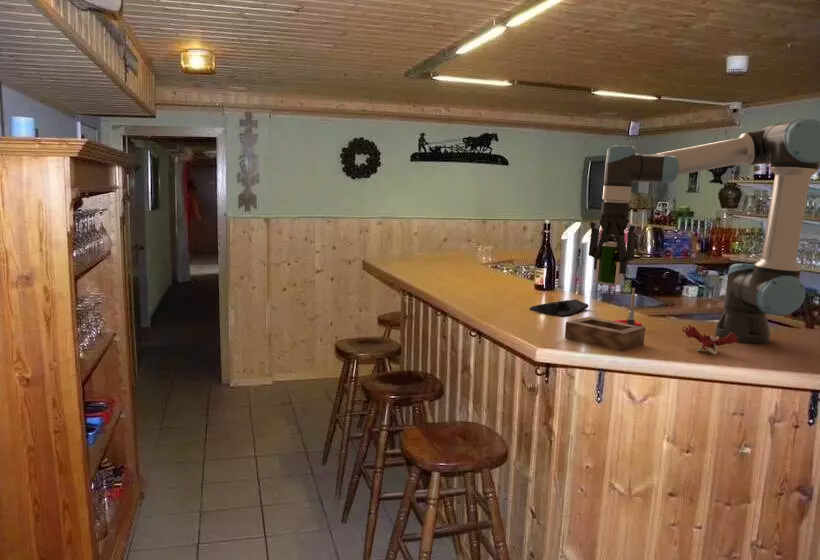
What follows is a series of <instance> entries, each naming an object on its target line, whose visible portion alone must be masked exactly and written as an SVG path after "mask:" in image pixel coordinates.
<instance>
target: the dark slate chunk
mask: <svg viewBox="0 0 820 560" xmlns="http://www.w3.org/2000/svg"><path fill="white" fill-rule="evenodd" d="M589 306H590V305H589V304H588V303H585V302H583V301H580V300H578V299H566V300H561V301H554V302H552V301H551V302H548V303H547V302H546V303H541V304H538V305H533V306H530V307H529V310H530V311H529V312H531V311H532V312H535V313H539V314H543V315H548V316H556V317H562V318H565V317H568V316H571V315H575V314H577V313H580V312H583V311H585V310H586V309H588V308H589ZM567 315H568V316H567Z"/></svg>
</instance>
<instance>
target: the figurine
mask: <svg viewBox="0 0 820 560" xmlns="http://www.w3.org/2000/svg"><path fill="white" fill-rule="evenodd" d="M681 330H682V331H683V333H684V334H685V335H686V336H687V338H689V339H690V338H691V339H692V338H693V339H695V340H696V341H698V342H699V343H702V345H701V346H700V347H699V348H698V349H697V350H696V352H700V351H701V350H703V351H708V352H710V353H711V354H712V355H713V356H716V355H717V354H718V348H717V347H721V346H723V345H725V346H726V345H731V344H733V343H738V342H739V341H738V340H739V339H738V340H737V338H739V337H734V336H735V335H736V334H735V332H734V334H732V333H733V332H730V333H729V334H728V335H727V336H726V337H723V338H721V337H719V336H717V335H716V337H715V336H714V335H713V334H711V335H708V336H707V334H703V335H702V333H700V332H699V331H698V329H697V328H695V326H694V325H691V324H688V327H686V326H683V327H682V328H681Z"/></svg>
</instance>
